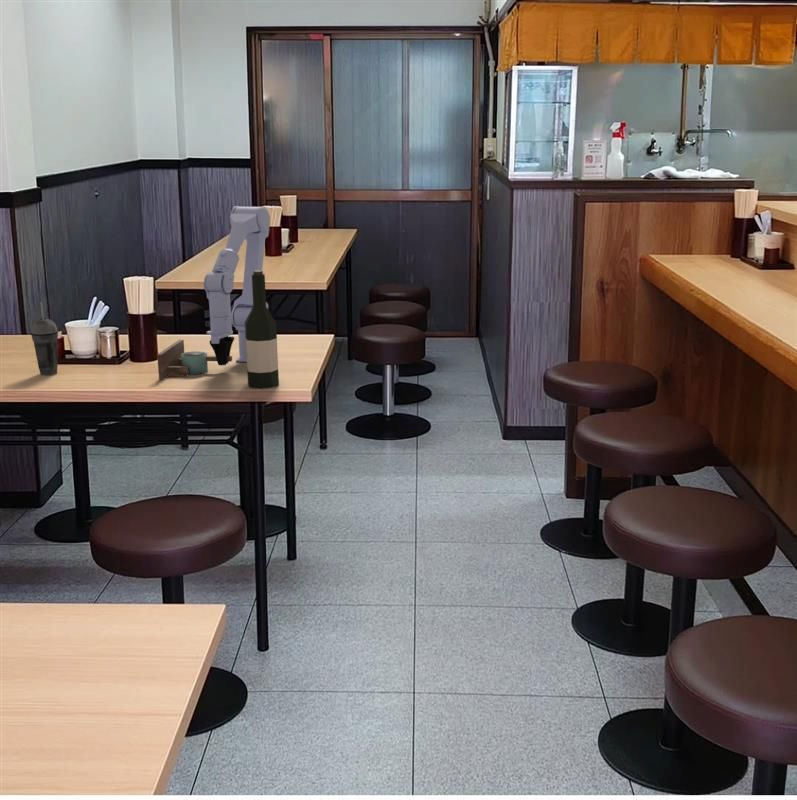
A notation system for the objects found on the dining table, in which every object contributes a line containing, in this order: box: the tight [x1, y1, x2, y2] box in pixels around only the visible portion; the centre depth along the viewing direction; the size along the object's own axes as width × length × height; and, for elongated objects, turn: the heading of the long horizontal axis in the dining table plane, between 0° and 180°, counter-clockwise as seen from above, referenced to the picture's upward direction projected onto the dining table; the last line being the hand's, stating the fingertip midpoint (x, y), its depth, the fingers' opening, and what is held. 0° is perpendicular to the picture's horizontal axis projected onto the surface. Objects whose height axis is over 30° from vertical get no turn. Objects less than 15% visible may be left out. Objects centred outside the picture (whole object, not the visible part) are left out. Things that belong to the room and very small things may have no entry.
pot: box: [181, 350, 233, 375], centre depth 280 cm, size 14×7×5 cm, turn 85°
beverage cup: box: [30, 301, 59, 376], centre depth 278 cm, size 7×7×20 cm
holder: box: [156, 339, 190, 380], centre depth 281 cm, size 6×20×7 cm, turn 175°
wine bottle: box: [245, 270, 280, 389], centre depth 262 cm, size 8×8×30 cm
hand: (223, 364), depth 280 cm, fingers closed on pot, 2 cm apart
